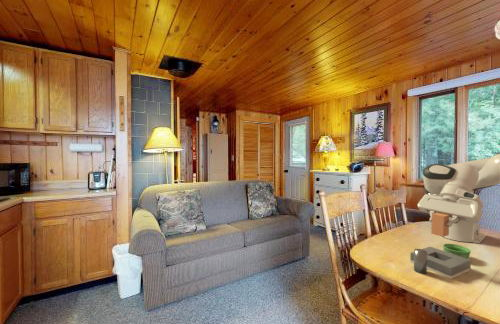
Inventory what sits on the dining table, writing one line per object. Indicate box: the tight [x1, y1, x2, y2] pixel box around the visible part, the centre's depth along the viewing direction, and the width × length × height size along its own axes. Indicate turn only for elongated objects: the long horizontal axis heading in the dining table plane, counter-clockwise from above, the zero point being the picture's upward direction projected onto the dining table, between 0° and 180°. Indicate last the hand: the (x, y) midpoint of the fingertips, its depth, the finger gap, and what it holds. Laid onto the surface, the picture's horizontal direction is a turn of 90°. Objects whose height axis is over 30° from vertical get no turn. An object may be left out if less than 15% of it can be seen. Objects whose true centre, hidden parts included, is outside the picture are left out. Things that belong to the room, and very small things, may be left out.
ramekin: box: [442, 243, 472, 260], centre depth 101 cm, size 9×9×4 cm
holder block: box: [409, 246, 472, 280], centre depth 94 cm, size 14×14×4 cm
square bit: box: [430, 213, 449, 238], centre depth 93 cm, size 4×4×8 cm
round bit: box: [413, 248, 428, 275], centre depth 90 cm, size 4×4×8 cm
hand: (439, 223), depth 93 cm, fingers closed on square bit, 4 cm apart
